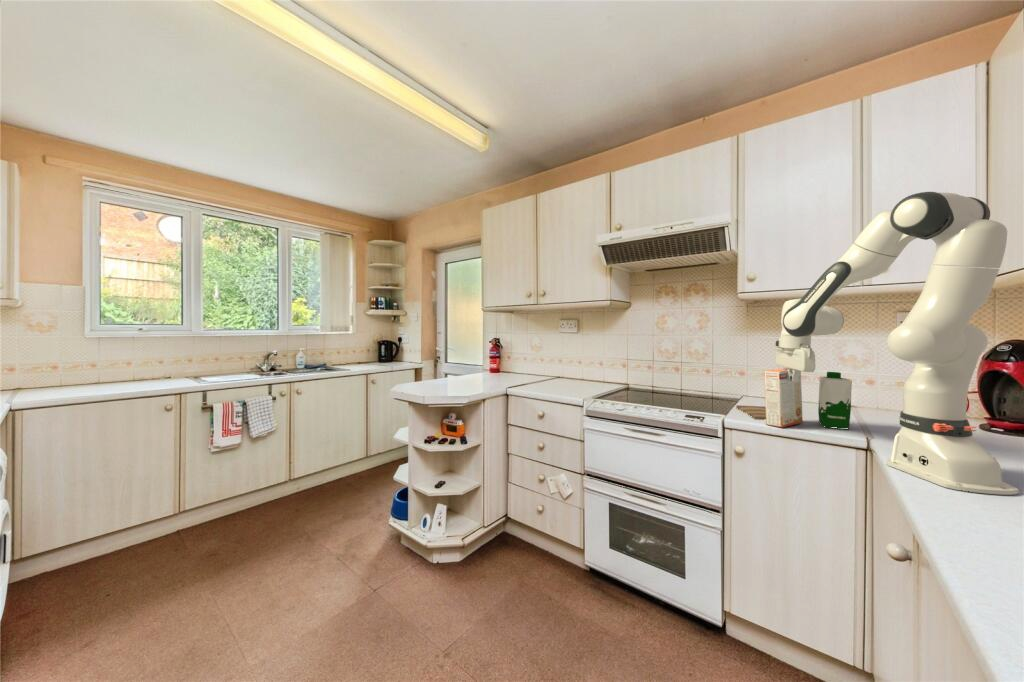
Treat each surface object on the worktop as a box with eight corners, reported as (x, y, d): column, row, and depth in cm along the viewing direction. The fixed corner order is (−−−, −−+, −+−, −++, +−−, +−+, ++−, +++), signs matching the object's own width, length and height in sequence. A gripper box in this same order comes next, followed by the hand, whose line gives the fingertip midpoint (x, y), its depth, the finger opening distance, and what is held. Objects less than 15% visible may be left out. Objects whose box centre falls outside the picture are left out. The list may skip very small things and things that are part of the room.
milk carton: (844, 425, 141) (847, 372, 140) (853, 431, 133) (855, 375, 132) (815, 422, 145) (817, 371, 144) (821, 428, 137) (823, 373, 136)
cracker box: (786, 420, 147) (785, 367, 147) (803, 423, 142) (802, 368, 142) (764, 424, 141) (763, 369, 141) (781, 428, 136) (780, 370, 136)
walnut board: (800, 421, 146) (800, 418, 146) (754, 419, 150) (754, 416, 150) (776, 409, 166) (776, 407, 166) (736, 407, 169) (736, 405, 169)
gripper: (822, 345, 124) (820, 386, 125) (790, 341, 144) (789, 377, 145) (800, 345, 126) (799, 385, 126) (772, 341, 146) (771, 376, 146)
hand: (793, 381), depth 136 cm, fingers closed
